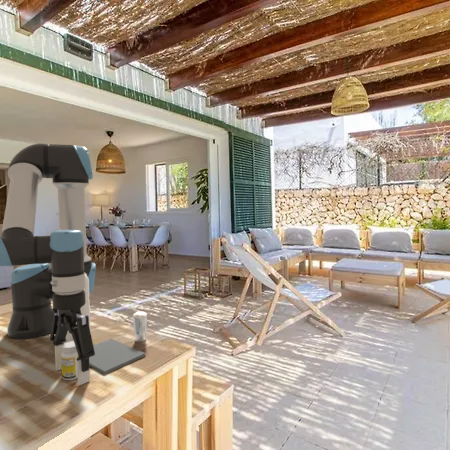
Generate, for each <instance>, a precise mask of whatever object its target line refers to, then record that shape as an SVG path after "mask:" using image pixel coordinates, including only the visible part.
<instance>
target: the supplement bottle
mask: <svg viewBox="0 0 450 450" xmlns="http://www.w3.org/2000/svg"><path fill="white" fill-rule="evenodd" d="M62 344H63V343H62ZM62 351H63V352H62V354H61V365H62V369H61V378H62V379H63V380H64V381H73V380H76V379H78V374H77V360H76V359H77V358H79V356H78V353H77V350H76V346H75V343H74V341H71V342H67V343H65V344H63V345H62Z"/></svg>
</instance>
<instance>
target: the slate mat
mask: <svg viewBox="0 0 450 450" xmlns="http://www.w3.org/2000/svg"><path fill="white" fill-rule="evenodd" d="M93 347H94V352H95V355H94V356H91V357H89V367H91V368H92V369H95V370H96V371H98V372H99V373H101V374H103V375H106V374H108V373H111V372H113V371H115V370H117V369H119V368H122V367H124V366H126V365H128V364H130V363H133V362H135V361H137V360H140V359H141V358H144V357H146V353H145V352H143V351H141V350H139V349H136V348H133V347H131V346H129V345H127V344H125V343H122V342H120V341H118V340H115V339H113V338H110V339H107V340H104V341H102V342H99V343H96V344H93Z"/></svg>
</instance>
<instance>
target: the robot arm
mask: <svg viewBox="0 0 450 450" xmlns="http://www.w3.org/2000/svg"><path fill="white" fill-rule="evenodd" d="M90 157H91V156H90V154H89V149H88V148H86V147H85V146H82V145H75V144H58V143H57V144H52V143H51V144H49V143H41V142H40V143H34V144H30V145H28V146H26V147H24V148H22V149H21V150H19V152H18V153H16V154H15V155H14V156H13V158H12V159H11V160H10V162H9V165H8V169H7V176H8V179H9V180H10V181H9V186H8V191H7V192H8V193H7V199H6V204H5V210H4V217H3V220H2V221H3V223H2V229H1V236H0V267H13V266H19V267H16V268H14V269H13V270H12V271H11V275H10V285H11V286H10V287H11V304H12V313H11V316H10V319H9V322H8V325H7V329H6V330H7V336H8V337H9V338H11V339H19V340H21V339H22V340H23V339H32V338H36V337H37V338H38V337H41V336H44V335H47V334H50V335H49V341H50V342H52V344H53V346H54V360H55V361H54V363H55V371H56V372H57V371H60V370H61V371H62V365H61V354H62V352H63V351H62V345H63V344H65V343H64V342H66V335H67V332H68V331H69V333H70V334H72V337H73V340H74V343H75V346H76V350H77V353H78V356H79V358H77V359H76V360H77V374H78V378H77V385H78V386H82V385H83V384H87V383H88V382H90V381H91V373H90V372H91V371H90V366H89V357H91V356H94V355H95V352H94V347H93V345H94V343H93V338H92V331H91V332H90V329H91V327H90V328H89V317H88V315H85V316H82V314H81V310H80V308H81V307H82V306H84V305H85V303H86V300H85V291H84V290H83V289H84V288H85V273H86V275H87V277H88V279H89V295H91V294H92V293H93V291H94V288H95V280H96V267H97V265H96V263H95V262H92V257H90V256H89V255H88V253H87V252H88V251H87V227H86V225H87V224H86V204H85V203H86V200H85V197H86V196H85V195H86V194H85V189H86V188H87V187H88V186H89V184H90V182H89V180H92V179H93V177H94V176H93V169H92V163H91V158H90ZM43 179H52V184H53V186H54V187H56V189H57V200H58V201H57V203H58V221H59V222H58V226H59V228H58V229H59V230H58V229H57V230H53V231H52V232H51V233H50V235H35V227H36V225H35V224H36V214H37V212H36V211H37V204H38V203H37V201H38V191H39V190H38V189H39V184H40V183H41V182H42V180H43ZM76 327H77V328H76Z"/></svg>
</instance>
